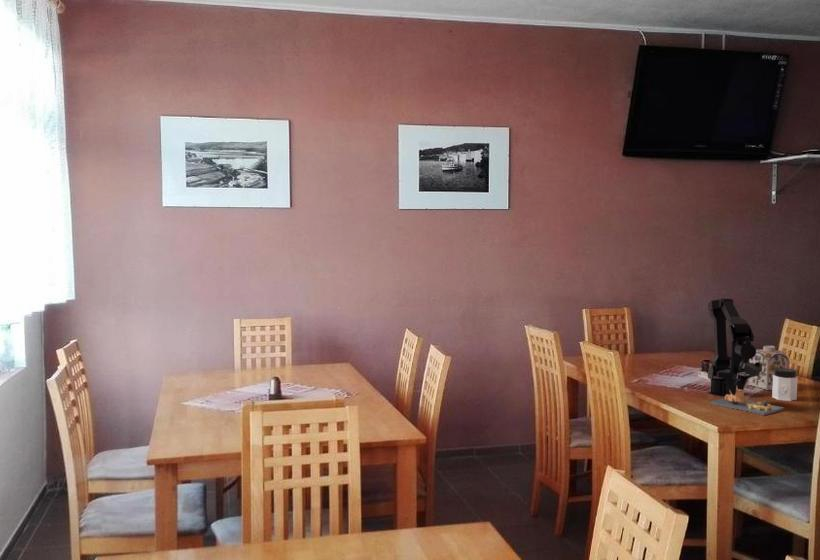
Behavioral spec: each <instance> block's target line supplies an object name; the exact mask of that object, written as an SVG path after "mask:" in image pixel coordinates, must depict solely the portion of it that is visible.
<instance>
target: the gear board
mask: <svg viewBox="0 0 820 560" xmlns="http://www.w3.org/2000/svg"><path fill="white" fill-rule="evenodd" d="M710 405H713V406H714V405H715V406H718V405H719V407H723V406H724V407H723V408H727V407H729V409H732V408H734V409H733V410H736V409H739V410H738V411H741V410H743V411H742V412H746V411H748V412H747V413H750V412H752V413H751V414H755V413H756V415H759V414H760V415H759V416H768V415H771V414H775V413H778V412H782V411H785V407H782V406H778V405H773V404H770V403H768V400H765V399H764V400H763V401H753V400H749V402H735V401H729V400H726V399H725V397H724V398H723V397H722V398H718V399H715V400H714V399H713V400H711V401H710Z"/></svg>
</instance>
